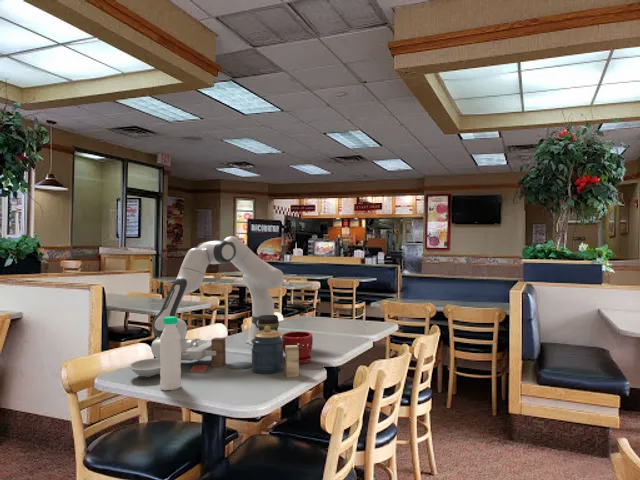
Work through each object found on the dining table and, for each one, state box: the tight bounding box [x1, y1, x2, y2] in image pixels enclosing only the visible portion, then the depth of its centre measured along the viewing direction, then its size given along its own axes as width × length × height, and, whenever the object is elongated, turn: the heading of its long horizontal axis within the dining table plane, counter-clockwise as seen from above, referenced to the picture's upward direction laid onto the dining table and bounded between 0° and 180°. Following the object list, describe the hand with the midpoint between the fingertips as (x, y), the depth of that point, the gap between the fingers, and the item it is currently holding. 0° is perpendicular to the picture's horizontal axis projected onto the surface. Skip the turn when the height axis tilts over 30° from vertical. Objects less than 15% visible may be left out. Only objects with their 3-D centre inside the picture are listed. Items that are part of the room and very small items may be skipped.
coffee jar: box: [258, 314, 280, 332], centre depth 217 cm, size 10×8×19 cm
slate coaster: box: [228, 361, 252, 370], centre depth 199 cm, size 10×10×1 cm
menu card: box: [190, 364, 210, 373], centre depth 195 cm, size 9×6×1 cm, turn 5°
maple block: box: [284, 344, 300, 378], centre depth 185 cm, size 4×4×11 cm
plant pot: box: [281, 331, 314, 365], centre depth 206 cm, size 13×13×12 cm
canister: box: [250, 326, 285, 374], centre depth 193 cm, size 13×13×18 cm
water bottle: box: [159, 316, 182, 391], centre depth 169 cm, size 7×7×25 cm
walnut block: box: [210, 337, 227, 367], centre depth 202 cm, size 4×4×11 cm
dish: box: [128, 358, 161, 378], centre depth 184 cm, size 18×14×5 cm
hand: (220, 350), depth 202 cm, fingers open, 8 cm apart
